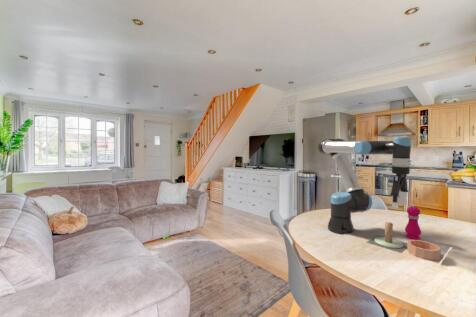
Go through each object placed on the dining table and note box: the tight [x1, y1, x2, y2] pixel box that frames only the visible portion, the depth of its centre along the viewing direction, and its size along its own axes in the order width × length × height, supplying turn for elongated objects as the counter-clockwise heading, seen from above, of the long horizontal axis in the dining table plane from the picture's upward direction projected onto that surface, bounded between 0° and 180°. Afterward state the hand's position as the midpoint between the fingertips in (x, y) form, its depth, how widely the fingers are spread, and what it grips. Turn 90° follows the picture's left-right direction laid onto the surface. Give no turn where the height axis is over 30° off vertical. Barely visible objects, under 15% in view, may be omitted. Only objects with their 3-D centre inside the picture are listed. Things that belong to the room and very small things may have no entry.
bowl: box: [406, 239, 442, 261], centre depth 107 cm, size 12×12×5 cm
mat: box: [366, 234, 407, 254], centre depth 120 cm, size 16×16×1 cm
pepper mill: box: [404, 203, 422, 240], centre depth 126 cm, size 7×7×20 cm
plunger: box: [374, 221, 404, 249], centre depth 120 cm, size 13×13×11 cm
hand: (398, 205), depth 118 cm, fingers open, 13 cm apart
